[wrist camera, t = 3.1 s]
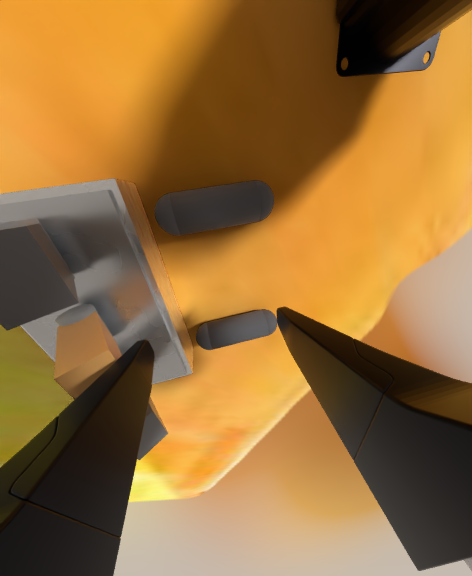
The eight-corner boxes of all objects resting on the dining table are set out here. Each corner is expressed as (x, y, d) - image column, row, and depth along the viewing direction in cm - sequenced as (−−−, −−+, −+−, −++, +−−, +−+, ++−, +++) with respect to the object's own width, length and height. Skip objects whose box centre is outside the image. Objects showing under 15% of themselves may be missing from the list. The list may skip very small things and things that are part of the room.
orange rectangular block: (91, 300, 10) (106, 345, 6) (114, 336, 11) (136, 389, 8) (55, 314, 9) (49, 375, 6) (85, 351, 11) (95, 419, 7)
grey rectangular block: (38, 218, 8) (19, 217, 4) (74, 273, 9) (82, 308, 6) (-15, 225, 7) (-92, 233, 3) (33, 286, 8) (12, 335, 5)
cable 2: (270, 301, 17) (281, 316, 14) (271, 321, 18) (281, 337, 16) (193, 319, 16) (192, 338, 14) (199, 339, 17) (199, 359, 15)
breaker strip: (135, 183, 10) (112, 177, 8) (193, 346, 17) (192, 376, 14) (-15, 204, 10) (-104, 206, 7) (108, 368, 16) (89, 403, 13)
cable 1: (265, 179, 12) (280, 175, 10) (266, 217, 13) (280, 220, 11) (153, 196, 11) (143, 195, 9) (165, 234, 12) (159, 242, 10)
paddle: (125, 353, 12) (151, 408, 9) (141, 378, 14) (169, 435, 10) (99, 369, 11) (116, 437, 8) (118, 394, 13) (141, 461, 9)
